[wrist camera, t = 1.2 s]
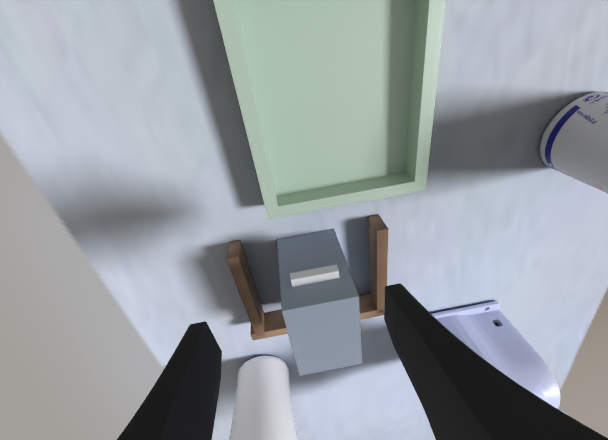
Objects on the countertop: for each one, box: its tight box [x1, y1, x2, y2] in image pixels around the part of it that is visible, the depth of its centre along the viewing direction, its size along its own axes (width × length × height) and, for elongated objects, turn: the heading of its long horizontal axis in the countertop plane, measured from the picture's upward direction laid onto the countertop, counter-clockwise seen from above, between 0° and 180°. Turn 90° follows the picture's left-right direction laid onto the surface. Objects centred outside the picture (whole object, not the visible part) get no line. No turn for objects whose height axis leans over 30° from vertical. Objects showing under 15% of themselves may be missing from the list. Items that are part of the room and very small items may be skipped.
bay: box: [227, 214, 388, 340], centre depth 24 cm, size 12×9×2 cm
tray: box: [213, 0, 446, 219], centre depth 16 cm, size 11×13×2 cm
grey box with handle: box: [277, 229, 362, 376], centre depth 21 cm, size 4×8×7 cm, turn 8°
